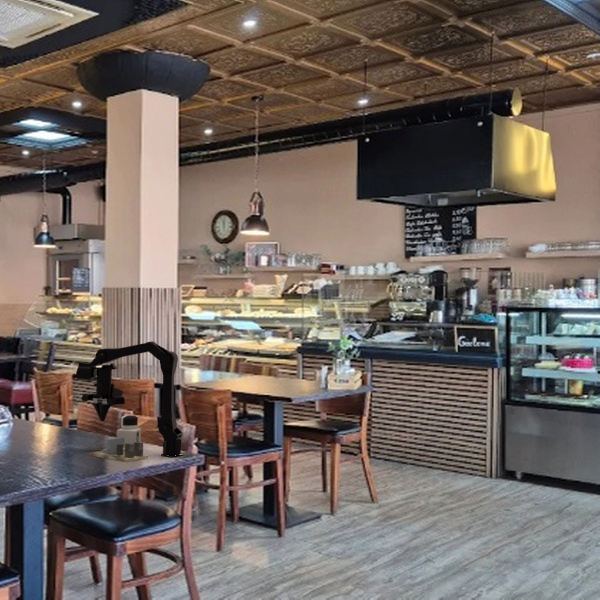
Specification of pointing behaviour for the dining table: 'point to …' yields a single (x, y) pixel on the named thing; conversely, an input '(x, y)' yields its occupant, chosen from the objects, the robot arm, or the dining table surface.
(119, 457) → the gauge board
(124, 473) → the dining table surface
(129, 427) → the container
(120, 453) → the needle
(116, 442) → the grey rectangular block
